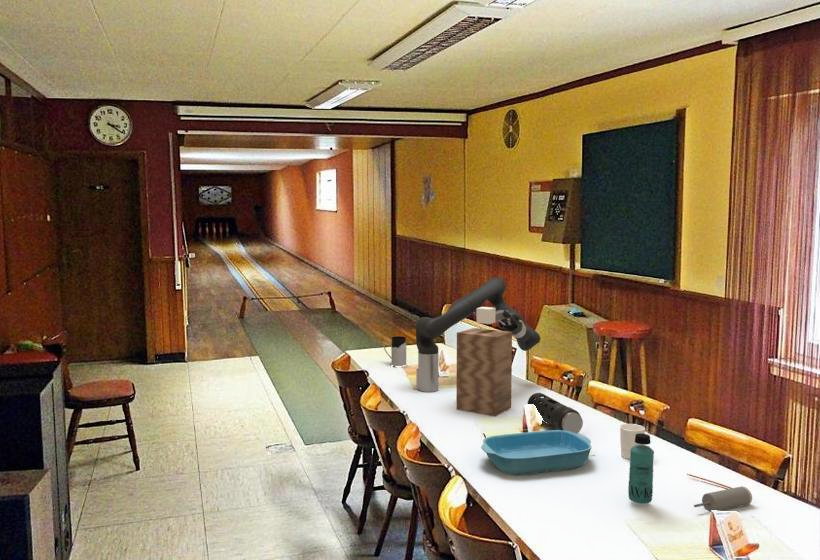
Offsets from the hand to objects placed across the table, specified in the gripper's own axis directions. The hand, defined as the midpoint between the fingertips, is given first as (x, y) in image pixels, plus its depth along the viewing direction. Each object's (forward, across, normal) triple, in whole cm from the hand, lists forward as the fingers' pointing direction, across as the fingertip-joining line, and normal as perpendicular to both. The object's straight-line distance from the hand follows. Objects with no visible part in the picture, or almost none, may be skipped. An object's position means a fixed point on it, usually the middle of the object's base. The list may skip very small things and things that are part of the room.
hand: (499, 312), depth 298 cm
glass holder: (-48, -79, +18) cm, 94 cm away
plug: (+3, 0, +5) cm, 5 cm away
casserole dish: (+31, +44, +63) cm, 83 cm away
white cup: (+11, +68, +51) cm, 86 cm away
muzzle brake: (-2, +34, +44) cm, 55 cm away
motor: (+28, +94, +62) cm, 116 cm away
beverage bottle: (+43, +82, +69) cm, 116 cm away
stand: (-8, 0, +40) cm, 41 cm away
